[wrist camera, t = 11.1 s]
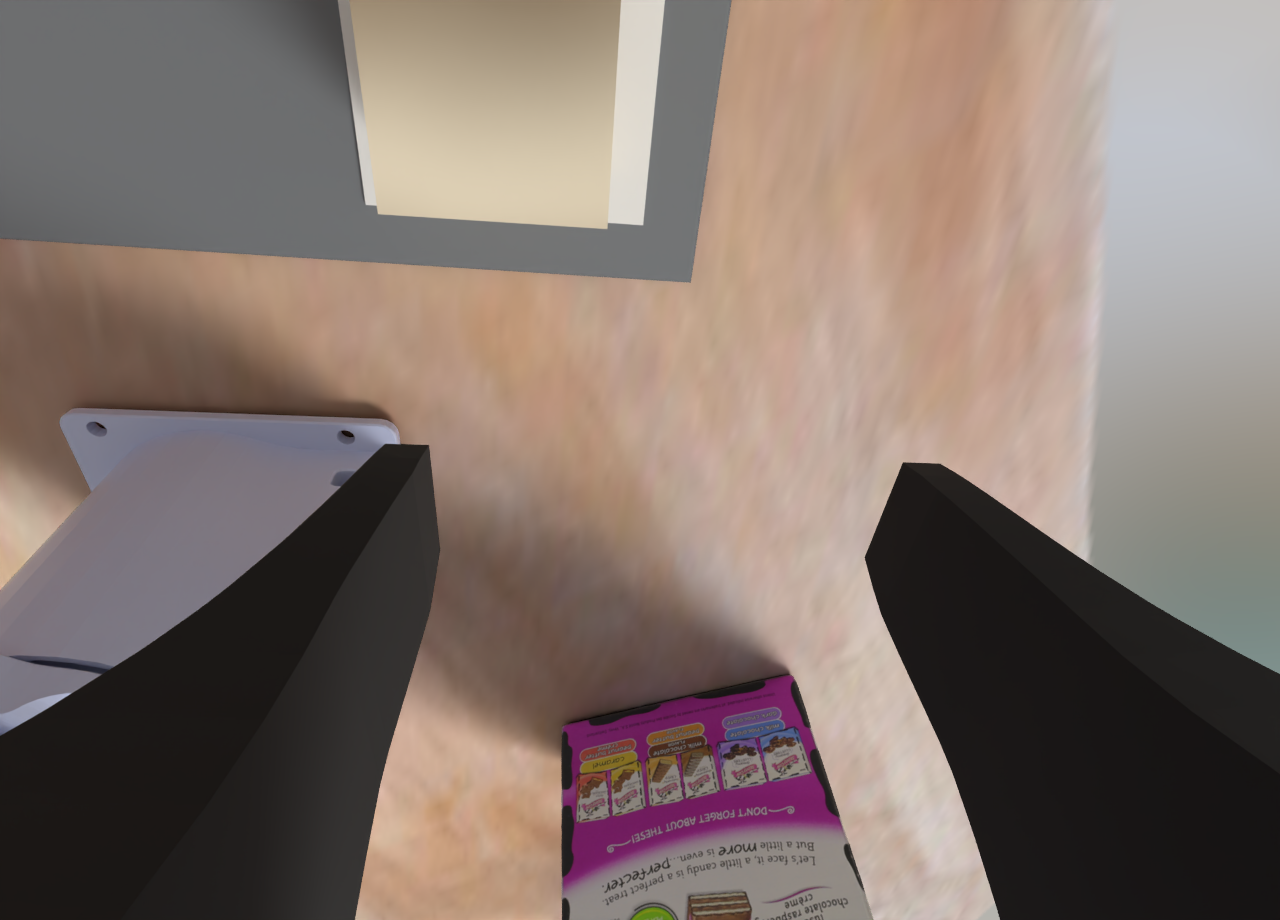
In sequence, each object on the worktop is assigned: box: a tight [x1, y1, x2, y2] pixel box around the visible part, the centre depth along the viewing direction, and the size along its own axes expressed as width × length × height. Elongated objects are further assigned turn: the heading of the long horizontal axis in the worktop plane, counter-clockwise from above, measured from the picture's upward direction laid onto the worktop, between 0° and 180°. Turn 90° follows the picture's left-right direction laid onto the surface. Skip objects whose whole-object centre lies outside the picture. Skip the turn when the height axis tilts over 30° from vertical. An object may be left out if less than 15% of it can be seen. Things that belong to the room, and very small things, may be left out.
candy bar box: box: [561, 675, 874, 920], centre depth 26 cm, size 11×5×16 cm, turn 103°
